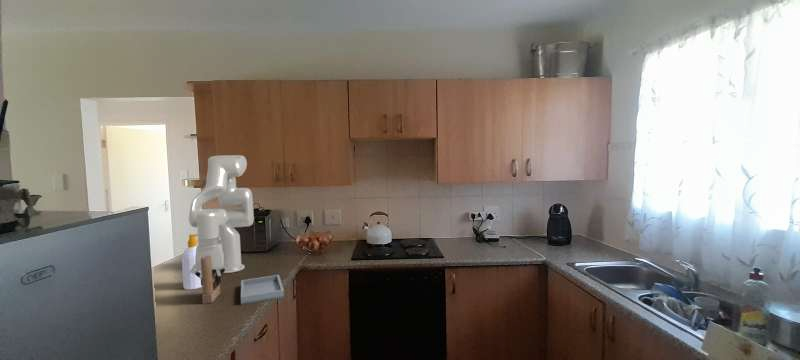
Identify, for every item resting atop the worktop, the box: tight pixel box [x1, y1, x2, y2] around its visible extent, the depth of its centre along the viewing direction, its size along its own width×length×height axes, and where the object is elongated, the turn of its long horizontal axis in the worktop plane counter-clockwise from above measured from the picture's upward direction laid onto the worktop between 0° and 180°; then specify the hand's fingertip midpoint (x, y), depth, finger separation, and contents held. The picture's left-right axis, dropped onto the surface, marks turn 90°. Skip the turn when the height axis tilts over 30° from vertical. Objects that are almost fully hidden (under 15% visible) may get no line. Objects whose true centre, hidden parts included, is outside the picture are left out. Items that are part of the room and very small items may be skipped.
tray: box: [240, 274, 285, 306], centre depth 148 cm, size 22×16×3 cm
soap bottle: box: [181, 233, 203, 291], centre depth 156 cm, size 9×9×24 cm
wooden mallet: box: [201, 257, 221, 305], centre depth 141 cm, size 4×11×18 cm, turn 11°
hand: (211, 285), depth 142 cm, fingers open, 4 cm apart
